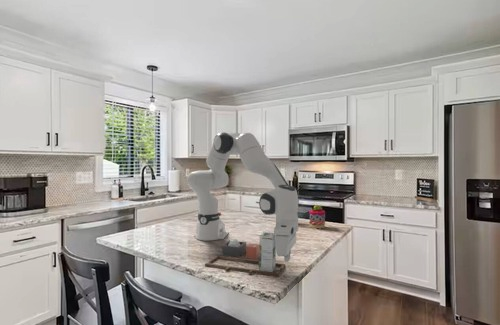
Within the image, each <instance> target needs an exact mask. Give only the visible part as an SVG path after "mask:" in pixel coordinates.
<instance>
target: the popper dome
mask: <svg viewBox="0 0 500 325" xmlns="http://www.w3.org/2000/svg"><path fill="white" fill-rule="evenodd" d="M228 246H237V247H238V246H240V243H239V240H238V239H235V238H233V239H231V240H230V242H229V244H228Z"/></svg>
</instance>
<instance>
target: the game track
mask: <svg viewBox="0 0 500 325" xmlns="http://www.w3.org/2000/svg"><path fill="white" fill-rule="evenodd" d="M218 259H219V260H227V261H232V262H241V263H248V264H257V265H259V260H254V259H247V258H243V257H242V256H240V257H234V256H226V255H215V256H214V257H213V258H211V259H209V260H208V261H206V262H205V263H204V266H205V267H211V268H216V269H223V270H225V272H229V271H237V272H244V273H248V275H249V276H252V274H255V275H256V274H257V275H265V276H271V277H276V278H278V277H279V276H280V275H281V273H283V271H284V268H286V263H278V262H276V264H275V267H279V268H278V270H277V271H276V272H274V271H273V272H267V271H260V270H259V269H253V268H246V267H245V268H244V267H238V266H233V265H232V266H231V265H224V264H216V263H214V262H216V260H218ZM282 270H283V271H282Z"/></svg>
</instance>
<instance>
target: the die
mask: <svg viewBox="0 0 500 325" xmlns="http://www.w3.org/2000/svg"><path fill="white" fill-rule="evenodd" d="M245 256H246V258H250V259H258V258H259V244H257V243H248V244H246V252H245Z"/></svg>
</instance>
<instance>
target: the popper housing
mask: <svg viewBox="0 0 500 325" xmlns="http://www.w3.org/2000/svg"><path fill="white" fill-rule="evenodd" d="M230 241H231V240H228V241H227V242H225V243H224V244H221V256H225V257H233V258H239V257H242V256H243V255H244V254H246V246H247V242H246V241H239V240H238V241H239V243H240V246H238V247H237V246H228V244H229V242H230Z"/></svg>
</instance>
